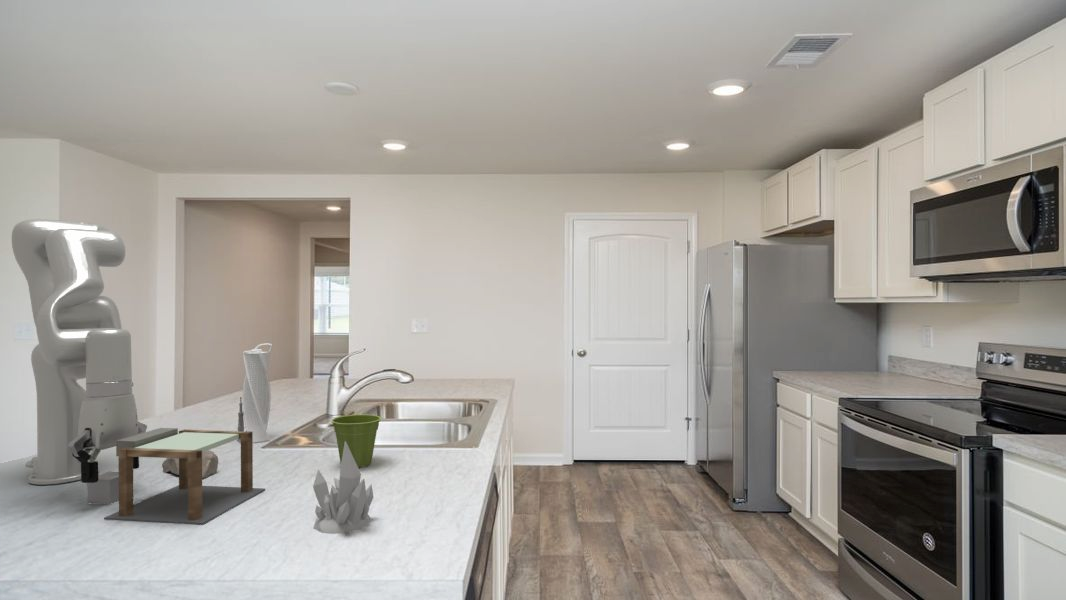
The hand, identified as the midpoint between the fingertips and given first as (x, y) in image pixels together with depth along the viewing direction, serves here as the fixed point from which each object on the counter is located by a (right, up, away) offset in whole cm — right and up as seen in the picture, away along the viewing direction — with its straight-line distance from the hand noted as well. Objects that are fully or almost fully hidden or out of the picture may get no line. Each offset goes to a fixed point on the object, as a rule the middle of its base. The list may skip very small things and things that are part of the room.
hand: (111, 475), depth 117 cm
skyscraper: (+6, -5, +49) cm, 50 cm away
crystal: (+50, -5, -11) cm, 52 cm away
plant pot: (+42, -5, +25) cm, 49 cm away
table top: (+17, -5, -2) cm, 18 cm away
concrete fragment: (+5, -6, +19) cm, 20 cm away
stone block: (-1, -5, +1) cm, 5 cm away
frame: (+17, -5, -2) cm, 18 cm away
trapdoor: (+14, +5, -2) cm, 16 cm away
